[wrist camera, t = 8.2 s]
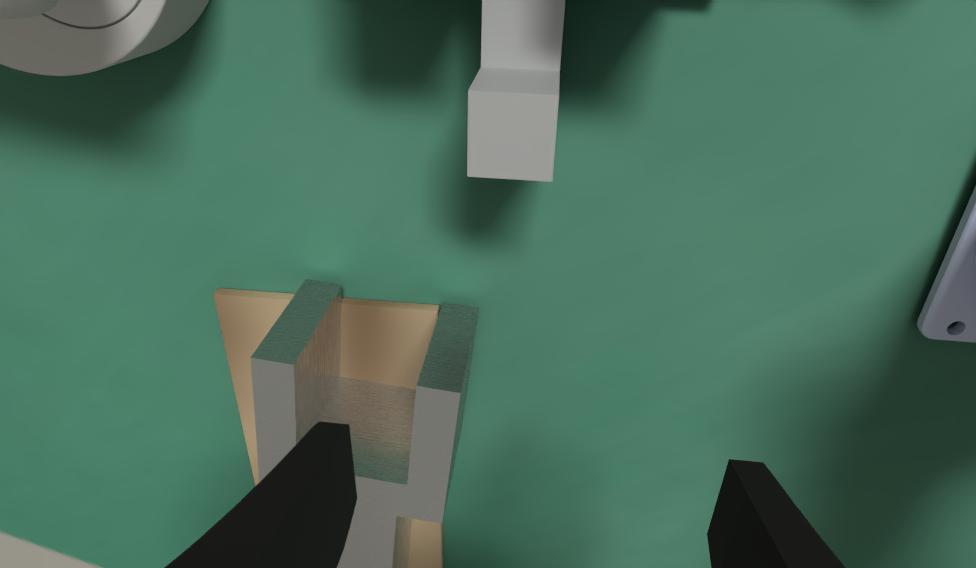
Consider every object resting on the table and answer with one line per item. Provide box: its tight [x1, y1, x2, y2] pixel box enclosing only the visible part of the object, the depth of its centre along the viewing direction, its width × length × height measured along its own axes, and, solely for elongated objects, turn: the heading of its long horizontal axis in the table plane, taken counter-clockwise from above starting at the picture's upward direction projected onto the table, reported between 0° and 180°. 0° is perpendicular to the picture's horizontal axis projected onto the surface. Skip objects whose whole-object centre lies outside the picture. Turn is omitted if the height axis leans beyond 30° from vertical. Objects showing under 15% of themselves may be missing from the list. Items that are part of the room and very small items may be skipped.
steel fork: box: [250, 279, 479, 568], centre depth 24 cm, size 6×14×4 cm, turn 173°
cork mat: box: [214, 288, 443, 568], centre depth 27 cm, size 8×17×1 cm, turn 179°
